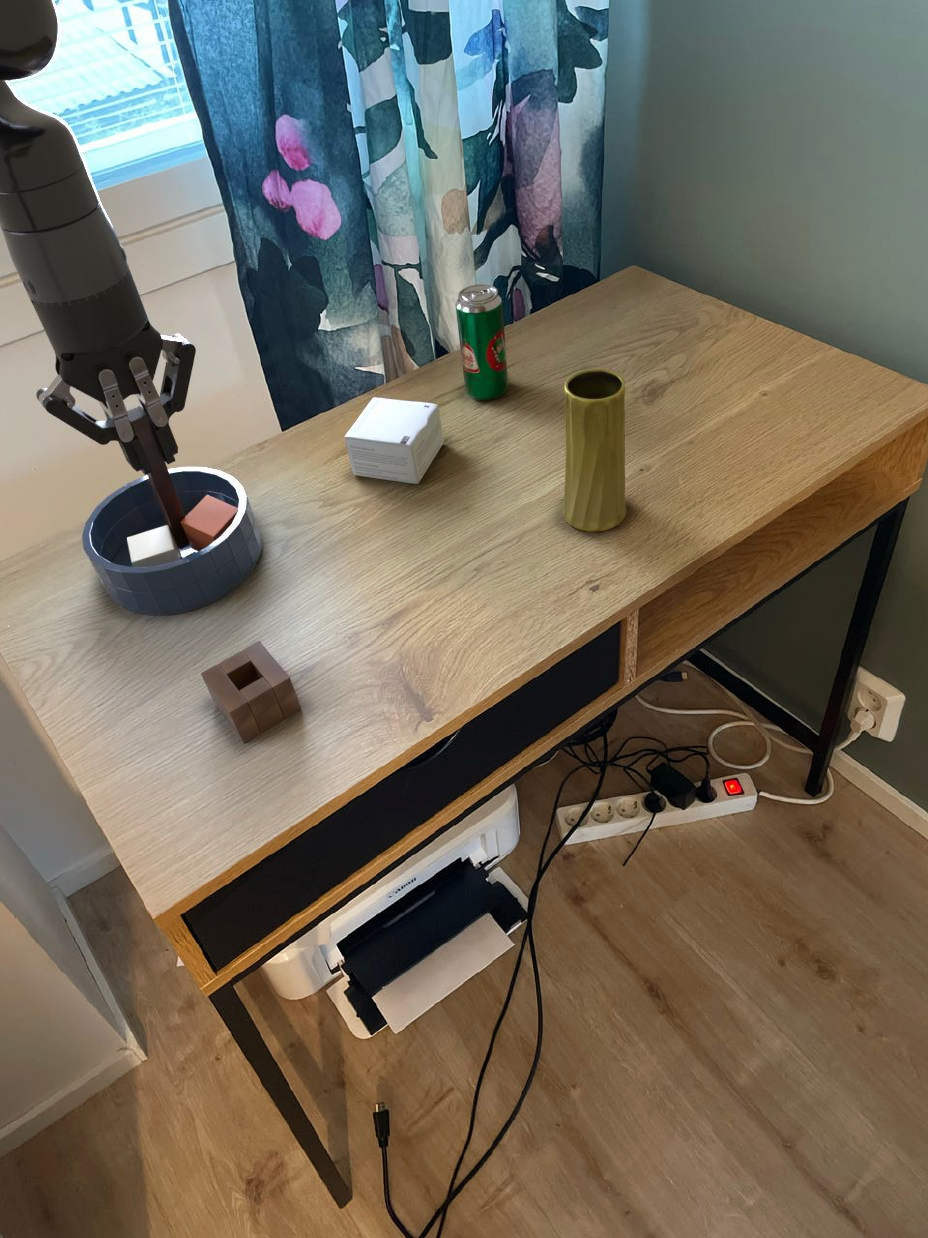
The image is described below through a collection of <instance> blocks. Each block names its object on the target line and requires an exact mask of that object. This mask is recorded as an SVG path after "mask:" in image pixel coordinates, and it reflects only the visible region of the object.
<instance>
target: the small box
mask: <svg viewBox="0 0 928 1238" xmlns="http://www.w3.org/2000/svg"><path fill="white" fill-rule="evenodd" d="M441 420H442V419H441V412H440V406H439V404H436V403H431V402H424V401H415V400H414V401H412V400H403V399H392V398H383V397H377V396H376V397H375V396H374V397H372V399H371V400H370V401H369V402H368V404H367V405H366V407H365V408H364V410H363V411H362V412H361V413H360V415H359V416H358V417H357V419H356V420H355V422H354V423H353V424H352V426H351V427H350V428H349V429H348V431H347V432H346V434H345V435H344V441H345V445H346V450H347V454H348V458H349V462H350V467H351V471H352V474H353V475H354V476H357V477H363V478H369V479H378V480H385V481H393V482H399V483H406V484H412V485H413V484H414V485H418V484H420V482H421V480H422V479H423V478H424V475H425V474H426V472H427V470H428V469H429V467H430V466H431V464H432V462H433V461H434V459H435V457H437V455H438V453H439V451H440V449H441V448H442V446H443V444H444V443H445V439H444V435H443V434H444V433H443V427H442V421H441Z"/></svg>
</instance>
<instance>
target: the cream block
mask: <svg viewBox="0 0 928 1238" xmlns="http://www.w3.org/2000/svg"><path fill="white" fill-rule="evenodd" d="M127 542H128V547H129V552H130V557H131V562H132V565H133V567H149V566H156V565H162V564H167V563H171V562H174V561H177V560H180V559H183V558H182V555H181V553H180V550H179V548H178V546H177V543H176V541H175V539H174V537H173V534H172V532H171V530H170V527H169V525H166V526H162V527H159V528H156V529H153V530H150V531H146V532H143V533H140V534H137V535H134V536H130V537H127Z"/></svg>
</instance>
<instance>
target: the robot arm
mask: <svg viewBox="0 0 928 1238" xmlns="http://www.w3.org/2000/svg"><path fill="white" fill-rule="evenodd" d="M60 42H61V23H60V17H59V13H58V9H57V6H56V3H55V0H0V229H1V232H2V234H3V238H4V240H5V244H6V247H7V251H8V253H9V257H10V259H11V261H12V263H13V266H14V269H15V270H16V272H17V274H18V277H19V279H20V281H21V283H22V285H23V287H24V289H25V291H26V294H27V296H28V298H29V300H30V302H31V304H32V306H33V308H34V311H35V313H36V315H37V317H38V319H39V321H40V323H41V326H42V328H43V330H44V332H45V334H46V336H47V339H48V341H49V343H50V345H51V348H52V349H53V351H54V354H55V364H54V366H55V372H56V374H57V375H56V377H55V378H54V379H53V380H52V382H51V383H50V385H49V386H48V387H42V388H40V389H38V390H37V392H36V394H35V397H36V399H37V401H38V402H39V403H40V404H41V406H42V407H43V408H44V410H45V411H46V412H47V413H49V414H50V415H51V416H53V417H55V418H56V419H58V420H60V421H61V422H63V423H64V424H66V425H68V426H69V427H71V428H73V429H75V430H76V431H78V432H79V433H81V434H83V436H85V437H88V438H89V439H90V440H92V441H94V442H96V443H97V444H99V445H102V446H105V445H106V446H107V445H109V443H110V442H118V445H119V447H120V449H121V451H122V453H123V456H124V458H125V460H126V462H127V463H128V464H129V465H130V467H131V468H132V469H133V470H134V471H136V472H142V474H143V475H144V476H146V475H147V474H149V473H151V472H153V471H152V468H151V466H150V463H149V461H148V459H147V456H146V454H145V452H144V449H143V447H142V445H141V442H140V440H139V438H138V437H137V436H136V435H135V434H134V433H133V430H132V427H131V425H130V422H129V419H128V416H127V415H128V413H127V411H128V410H127V407H126V404H125V401H124V400H125V399H127V398H128V397H130V396H133V395H135V397H136V399H137V401H138V403H139V406H141V407H142V409H143V410H144V411H145V412H146V413H147V415H148V417H149V419H150V422H151V425H152V429H153V432H154V434H155V437H156V440H157V442H158V445H159V448H160V451H161V453H162V456H163V459H164V461H165V463H166V465H170V464H173V463H174V462H176V458H175V455H177V454H178V453H179V446H178V444H177V442H176V441H177V440H176V439H175V435H174V433H173V431H172V428H171V426H170V418H171V417H172V416H173V415H174V414H175V413H181V412H182V411H183V410H184V409H185V406H186V402H187V397H188V392H189V387H190V382H191V378H192V377H191V376H192V373H193V368H194V363H195V357H196V352H197V349H196V346H195V345H194V344H193V343H192V342H191V341H189V340H188V339H187V338H186V337H184V336H183V335H182V334H181V333H174V334H172V335H171V336H169V335H163V334H161V333H160V332H159V331H158V330H157V329H156V328H155V327H154V326H153V325H152V323H151V322H150V320H149V317H148V315H147V312H146V308H145V307H144V304H143V303H144V302H143V301H142V298H141V295H140V293H139V291H138V287H137V285H136V282H135V279H134V277H133V274H132V272H131V269H130V267H129V264H128V260H127V254H126V251H125V249H124V246H122V244H121V243H120V240H119V237H118V235H117V232H116V230H115V228H114V226H113V224H112V222H111V220H110V218H109V216H108V215H107V213H106V210H105V209H104V207H103V205H102V202H101V200H100V197H99V194H98V192H97V189H96V186H95V184H94V182H93V179H92V176H91V174H90V171H89V168H88V166H87V162H86V160H85V157H84V155H83V153H82V149H81V147H80V145H79V143H78V140H77V138H76V136H75V134H74V132H73V130H72V128H71V127H70V125H68V123H67V122H66V121H65V120H63V118H61V117H59V116H57V115H55V114H53V113H50V112H47V111H44V110H42V109H39V108H36V107H35V106H32V105H30V104H28V103H27V102H25V101H24V100H23V99H21V98H20V96H18V94H17V93H16V91H15V89H13V88H12V86H11V85H10V83H9V82H15V81H23V80H26V79H30V78H33V77H35V76H37V75H39V74H41V73H42V72H43V71H45V70H46V69H48V67H49V66H50V65H51V64H52V62H53V60H54V59H55V57H56V55H57V53H58V50H59V46H60ZM161 356H162V358H163V360H164V361H165V366H164V371H163V377H162V382H161V387H160V392H159V393H158V390H157V388H156V386H155V384H154V379H155V375H156V373H157V369H158V365H159V361H160V357H161ZM71 387H72V388H73V389H75V390H77V391H79V392H81V393H83V394H84V395H87V396H89V397H90V398H92V399H93V400H96V401H98V403H99V406H100V407H101V409H102V411H103V413H104V416H105V419H106V420H98V419H96V418H95V417H93V416H92V415H90V414H89V413H87V412H86V411H84V410H83V409H81V408H79V407H78V406H77V405H76V399H75V397H74V395H72V393H71Z"/></svg>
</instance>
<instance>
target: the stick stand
mask: <svg viewBox="0 0 928 1238" xmlns="http://www.w3.org/2000/svg"><path fill="white" fill-rule="evenodd" d="M200 675H201V677H202V680H203V681H204V684H205V686H206V688H207V690H208V692H209V694H210V696H211V698H212V700H213V702H214V705H215V706H216V707H217V709H218V710H219V712H220V713H221V715H222V716H223V717H224V718H225V720H226V721H227V722H228V724H229V726H230V727H231V728H232V730H233V731H234V732H235V734H236V735H237V737H238V738H239V739H240V740H241V742H242V743H243V744H245V743H247V742H248V741H250V740H252V739H254V738H255V737H257V736H258V735H260V734H261V733H264V732H266V731H267V730H268V729H270V728H272V727H274V726H275V725H277V724H278V723H280V722H281V721H283V720H285V719H287V718H289V717H291V716H292V715H294V714H295V713H297V712H299V711H300V710H302V706H301V703H300V700H299V698H298V695H297V693H296V690H295V688H294V685H293V682H292V679H291V677H290V676H289V674H288V673H287V672H286V671H285V670H284V669H283V667H282V666H281V664H280V663H278V661H277V659H275V658H274V656H273V655H272V654H271V653H270V652H269V651H268V649H267V648H266V647H265V645H264V644H263V643H262V642H261V640H257V641H255V642H254V643H252V644H250V645H248V646H246V647H245V648H243V649H242V650H240V651H238V652H236V653H234V654H232V655H231V656H229V657H227V658H225V659H223V660H221V661H219V662H218V663H216V664H214V665H213V666H211V667H210V668H207V669H206V670H204V671H202V672H201V673H200Z"/></svg>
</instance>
